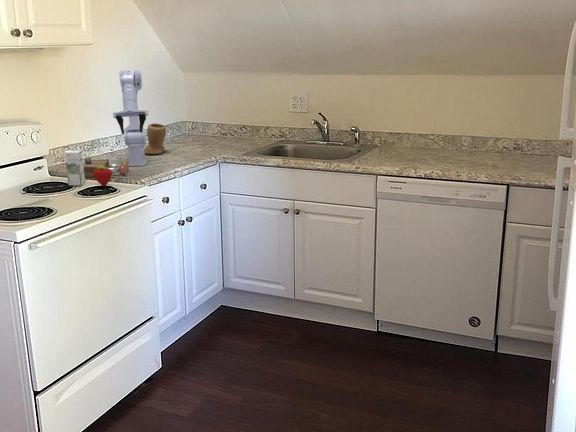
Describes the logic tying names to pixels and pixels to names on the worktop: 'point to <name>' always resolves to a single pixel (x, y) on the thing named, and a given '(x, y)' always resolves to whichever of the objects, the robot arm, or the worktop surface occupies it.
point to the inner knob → (118, 165)
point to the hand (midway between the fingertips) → (131, 132)
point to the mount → (93, 167)
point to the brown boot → (155, 138)
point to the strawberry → (102, 175)
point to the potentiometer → (88, 159)
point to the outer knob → (119, 169)
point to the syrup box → (74, 167)
